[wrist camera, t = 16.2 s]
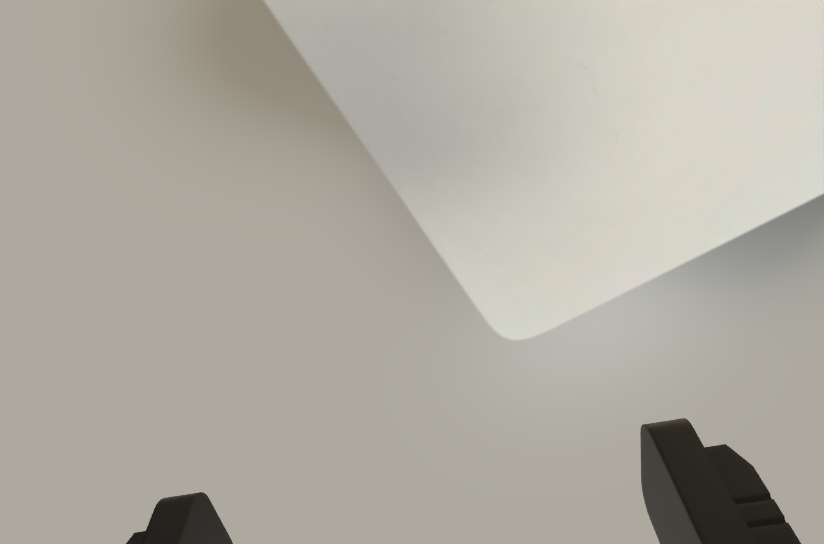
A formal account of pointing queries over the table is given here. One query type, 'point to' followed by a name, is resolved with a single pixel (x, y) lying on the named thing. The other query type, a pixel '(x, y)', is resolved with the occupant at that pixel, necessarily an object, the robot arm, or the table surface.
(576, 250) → the table surface
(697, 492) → the robot arm
